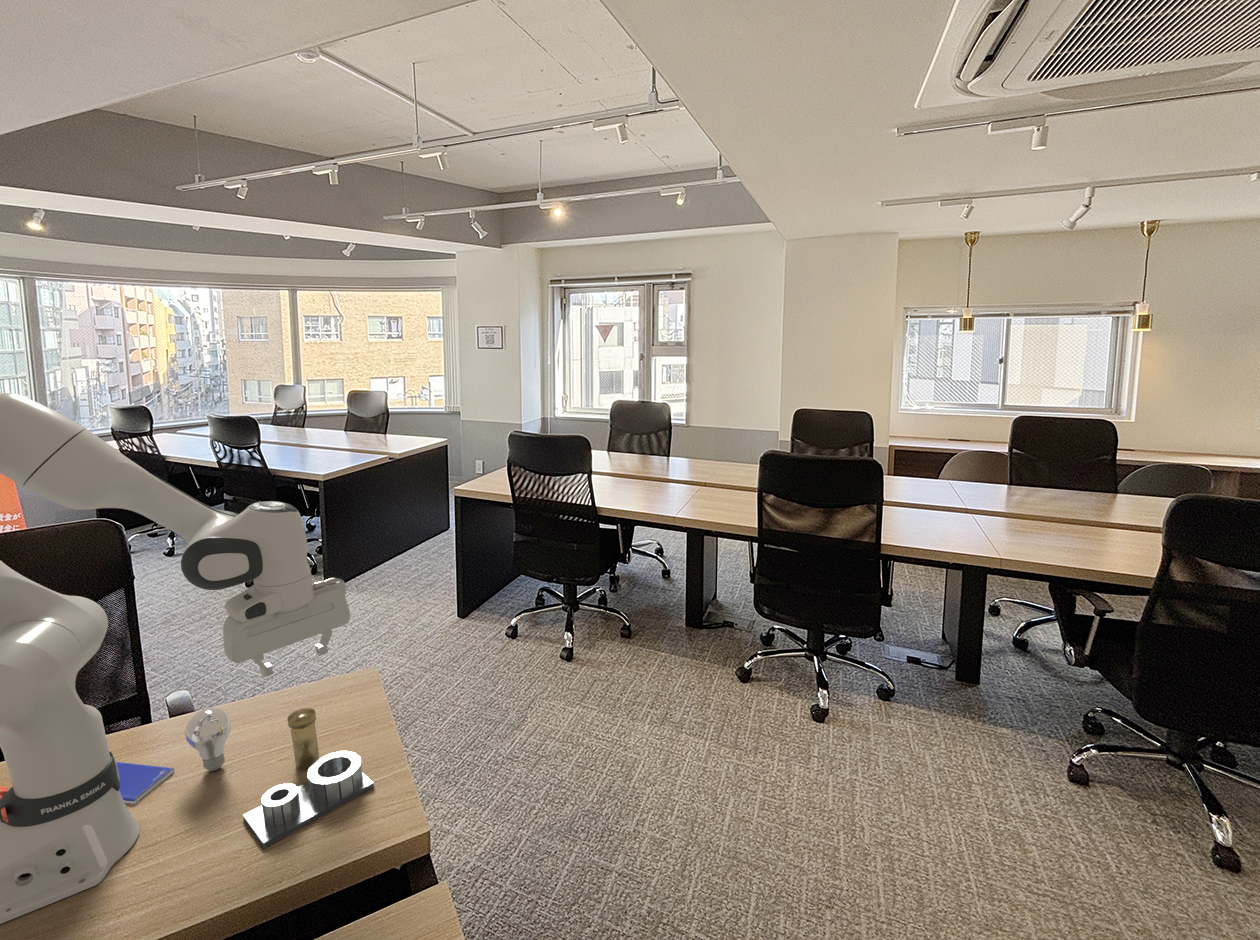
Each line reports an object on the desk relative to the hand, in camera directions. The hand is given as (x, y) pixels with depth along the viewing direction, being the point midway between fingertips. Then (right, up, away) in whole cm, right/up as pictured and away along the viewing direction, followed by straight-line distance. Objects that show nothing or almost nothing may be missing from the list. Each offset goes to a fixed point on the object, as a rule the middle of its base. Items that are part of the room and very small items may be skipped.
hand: (295, 663), depth 115 cm
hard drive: (-30, -22, -1) cm, 37 cm away
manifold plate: (+5, -22, -6) cm, 23 cm away
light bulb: (-16, -21, +3) cm, 26 cm away
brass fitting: (0, -20, +5) cm, 20 cm away
